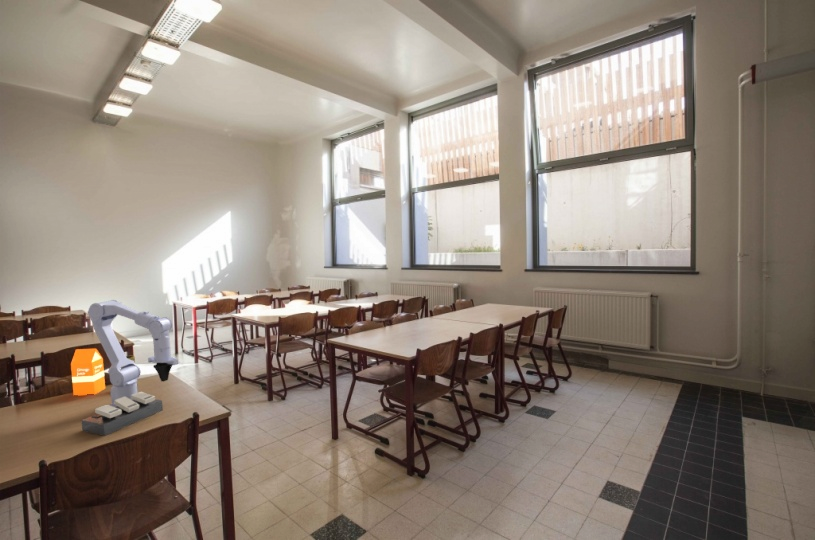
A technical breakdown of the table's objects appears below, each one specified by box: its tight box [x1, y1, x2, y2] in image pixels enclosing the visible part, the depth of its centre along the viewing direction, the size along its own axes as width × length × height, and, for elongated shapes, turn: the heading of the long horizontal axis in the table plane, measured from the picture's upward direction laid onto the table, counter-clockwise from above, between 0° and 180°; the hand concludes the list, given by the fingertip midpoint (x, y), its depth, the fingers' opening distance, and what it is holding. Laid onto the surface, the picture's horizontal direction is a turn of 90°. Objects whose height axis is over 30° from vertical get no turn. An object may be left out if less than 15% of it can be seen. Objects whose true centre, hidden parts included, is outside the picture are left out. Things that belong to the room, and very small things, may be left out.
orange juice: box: [70, 348, 106, 396], centre depth 182 cm, size 8×9×20 cm
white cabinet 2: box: [114, 396, 139, 413], centre depth 151 cm, size 8×4×2 cm, turn 70°
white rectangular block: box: [131, 391, 156, 404], centre depth 157 cm, size 8×4×2 cm, turn 70°
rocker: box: [94, 404, 122, 418], centre depth 145 cm, size 8×4×2 cm, turn 70°
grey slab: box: [80, 398, 164, 437], centre depth 154 cm, size 12×26×5 cm, turn 160°
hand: (164, 380), depth 164 cm, fingers closed
